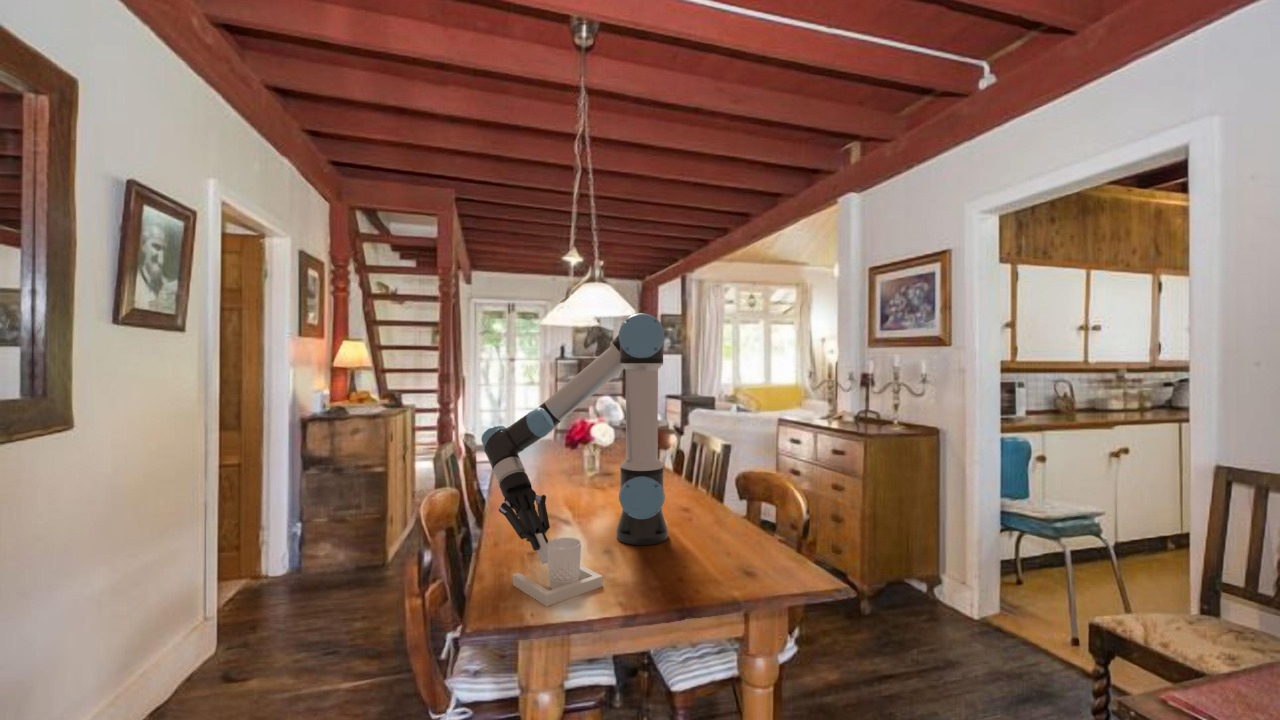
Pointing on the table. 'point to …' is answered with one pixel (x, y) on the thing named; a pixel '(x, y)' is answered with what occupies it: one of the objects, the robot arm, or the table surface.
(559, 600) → the bay
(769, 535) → the table surface
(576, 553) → the white cup
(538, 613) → the table surface
